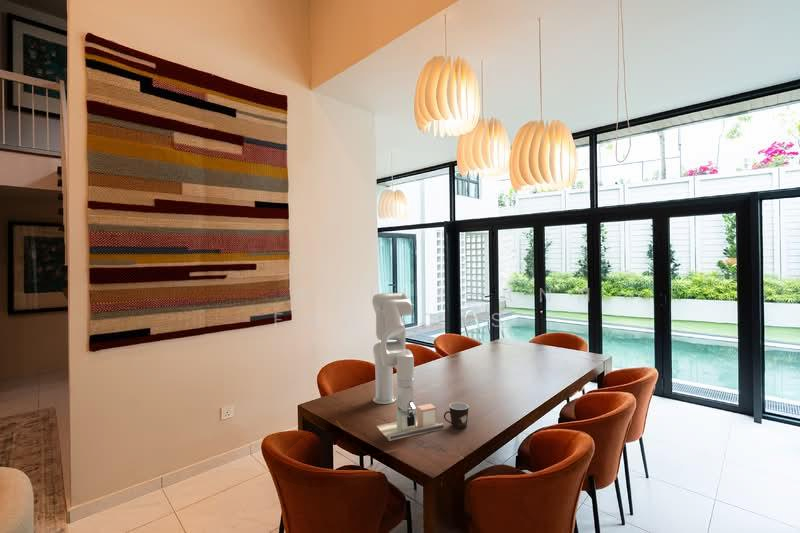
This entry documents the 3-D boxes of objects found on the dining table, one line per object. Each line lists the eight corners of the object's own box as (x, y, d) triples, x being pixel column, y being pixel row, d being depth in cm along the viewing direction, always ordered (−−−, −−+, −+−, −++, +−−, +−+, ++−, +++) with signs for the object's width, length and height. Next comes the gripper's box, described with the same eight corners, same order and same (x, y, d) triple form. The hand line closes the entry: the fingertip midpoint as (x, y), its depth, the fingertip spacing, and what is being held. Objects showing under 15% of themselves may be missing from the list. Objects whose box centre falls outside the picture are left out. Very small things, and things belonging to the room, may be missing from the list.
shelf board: (376, 428, 170) (376, 421, 170) (427, 417, 180) (427, 411, 180) (389, 443, 155) (389, 435, 155) (444, 431, 166) (444, 424, 166)
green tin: (401, 435, 160) (400, 413, 160) (396, 430, 165) (396, 409, 165) (416, 431, 163) (415, 411, 163) (411, 427, 168) (410, 407, 168)
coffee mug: (466, 424, 173) (466, 402, 173) (471, 432, 164) (470, 409, 164) (441, 424, 172) (441, 403, 172) (444, 433, 164) (444, 410, 164)
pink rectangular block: (422, 430, 164) (422, 410, 164) (417, 426, 169) (416, 406, 169) (436, 427, 167) (436, 407, 167) (431, 423, 172) (430, 403, 172)
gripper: (390, 377, 170) (390, 415, 170) (405, 389, 154) (406, 430, 155) (405, 375, 173) (405, 412, 173) (422, 386, 157) (422, 427, 158)
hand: (406, 421), depth 164 cm, fingers open, 9 cm apart
